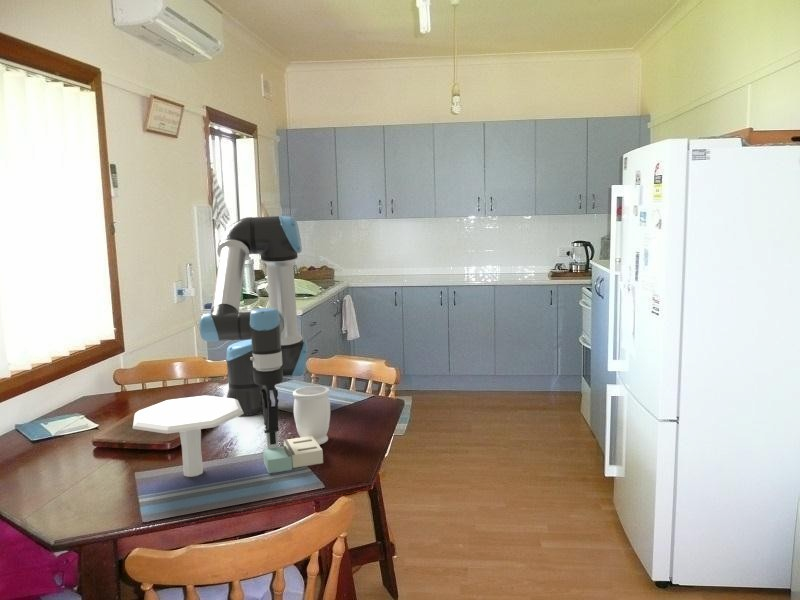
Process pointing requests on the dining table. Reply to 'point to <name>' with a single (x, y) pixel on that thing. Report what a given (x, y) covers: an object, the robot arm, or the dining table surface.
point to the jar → (312, 412)
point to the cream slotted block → (304, 451)
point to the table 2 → (188, 423)
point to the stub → (277, 459)
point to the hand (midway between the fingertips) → (272, 454)
